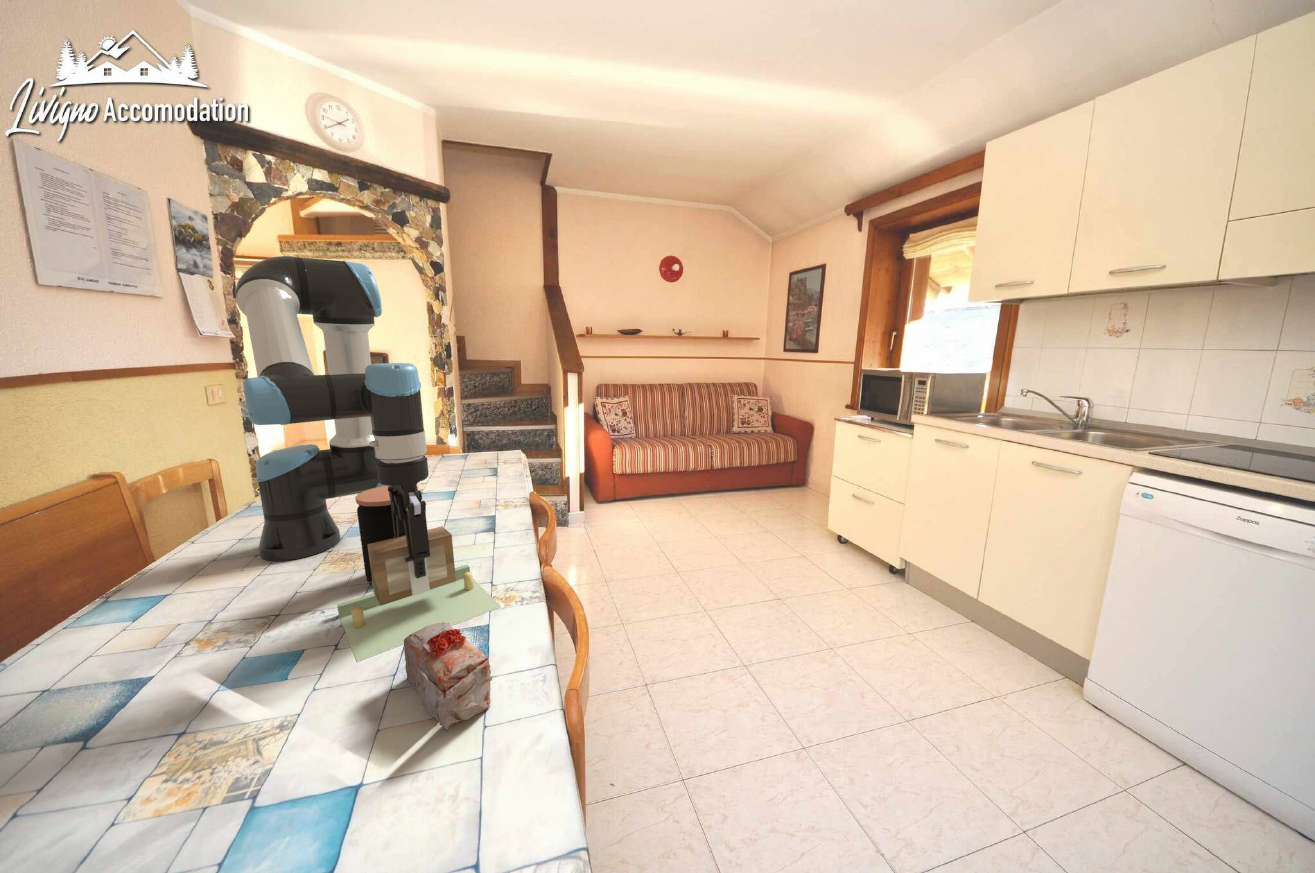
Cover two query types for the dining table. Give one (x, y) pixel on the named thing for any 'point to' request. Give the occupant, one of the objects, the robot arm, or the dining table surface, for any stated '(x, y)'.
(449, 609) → the ledge board
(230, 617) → the dining table surface
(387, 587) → the brown box-like piece
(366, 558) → the coffee jar
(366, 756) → the dining table surface
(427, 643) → the food item
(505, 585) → the dining table surface
